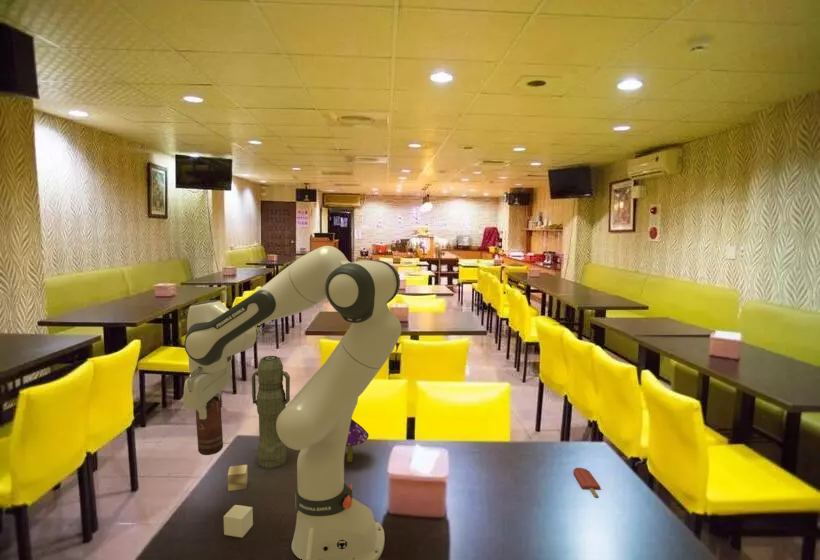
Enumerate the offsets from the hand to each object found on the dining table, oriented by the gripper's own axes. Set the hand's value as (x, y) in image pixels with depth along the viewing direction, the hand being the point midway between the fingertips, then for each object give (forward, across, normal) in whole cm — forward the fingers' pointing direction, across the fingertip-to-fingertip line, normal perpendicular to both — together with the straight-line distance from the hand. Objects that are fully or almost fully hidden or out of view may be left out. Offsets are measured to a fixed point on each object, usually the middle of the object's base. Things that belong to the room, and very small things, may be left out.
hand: (209, 413), depth 122 cm
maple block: (+28, +13, -2) cm, 31 cm away
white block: (+28, -7, -10) cm, 30 cm away
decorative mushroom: (+28, +28, -33) cm, 51 cm away
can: (+10, 0, 0) cm, 10 cm away
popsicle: (+29, +17, -107) cm, 112 cm away
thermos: (+28, +27, -8) cm, 39 cm away
